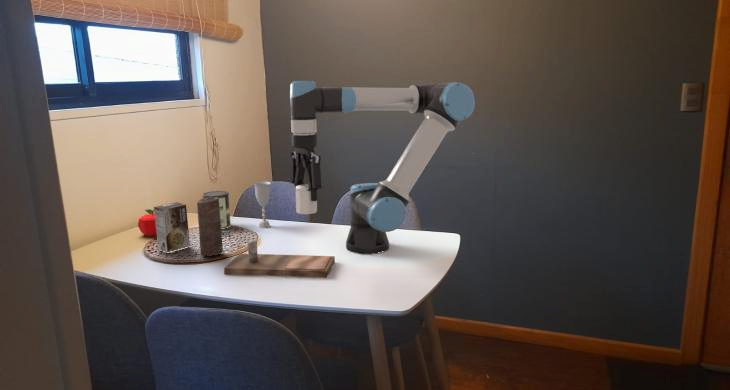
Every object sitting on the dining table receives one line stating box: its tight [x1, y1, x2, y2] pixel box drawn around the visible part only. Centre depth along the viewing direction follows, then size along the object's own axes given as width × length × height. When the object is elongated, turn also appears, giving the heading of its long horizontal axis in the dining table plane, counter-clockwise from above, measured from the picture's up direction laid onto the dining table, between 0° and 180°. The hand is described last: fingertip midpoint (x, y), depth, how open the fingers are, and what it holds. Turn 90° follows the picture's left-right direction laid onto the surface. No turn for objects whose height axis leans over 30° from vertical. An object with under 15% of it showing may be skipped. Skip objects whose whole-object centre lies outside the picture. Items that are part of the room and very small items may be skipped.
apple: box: [137, 209, 157, 237], centre depth 205 cm, size 11×11×10 cm
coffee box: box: [153, 201, 191, 252], centre depth 185 cm, size 9×6×16 cm
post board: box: [223, 240, 336, 278], centre depth 166 cm, size 32×14×8 cm, turn 83°
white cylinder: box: [295, 183, 318, 215], centre depth 161 cm, size 6×6×8 cm
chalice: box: [253, 181, 272, 229], centre depth 213 cm, size 7×7×18 cm
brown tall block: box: [196, 197, 224, 257], centre depth 178 cm, size 8×7×20 cm
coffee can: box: [201, 190, 232, 229], centre depth 214 cm, size 10×10×14 cm
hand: (306, 208), depth 162 cm, fingers closed on white cylinder, 6 cm apart
